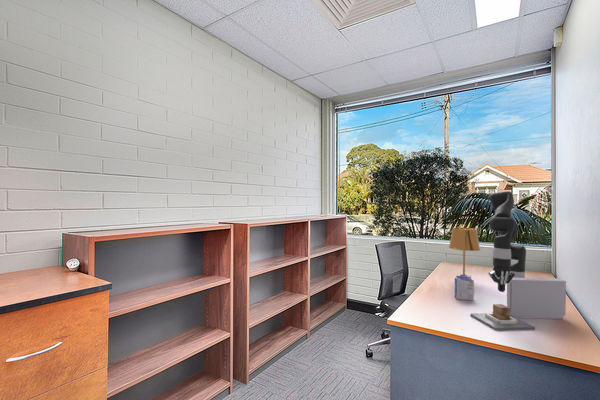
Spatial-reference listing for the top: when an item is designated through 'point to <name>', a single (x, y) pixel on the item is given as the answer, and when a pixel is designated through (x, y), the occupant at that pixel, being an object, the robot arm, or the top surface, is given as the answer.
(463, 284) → the ink cartridge box
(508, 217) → the robot arm
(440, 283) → the top surface
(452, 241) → the lamp
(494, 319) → the baseplate
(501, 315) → the walnut block
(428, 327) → the top surface
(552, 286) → the game console
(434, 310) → the top surface
